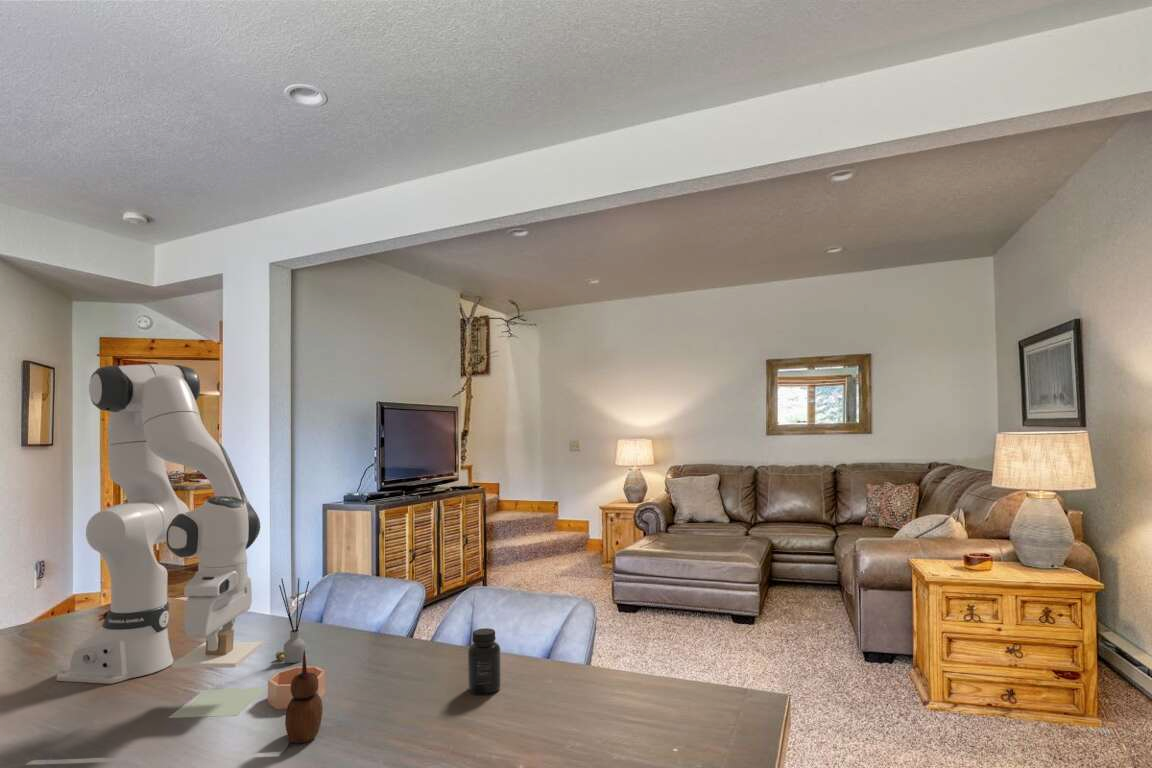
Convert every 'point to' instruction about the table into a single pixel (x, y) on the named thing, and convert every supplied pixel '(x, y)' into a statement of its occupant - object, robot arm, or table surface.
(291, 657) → the reed diffuser
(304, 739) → the wooden figurine
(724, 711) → the table surface
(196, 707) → the mat
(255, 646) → the lid
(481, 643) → the supplement bottle
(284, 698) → the bowl
